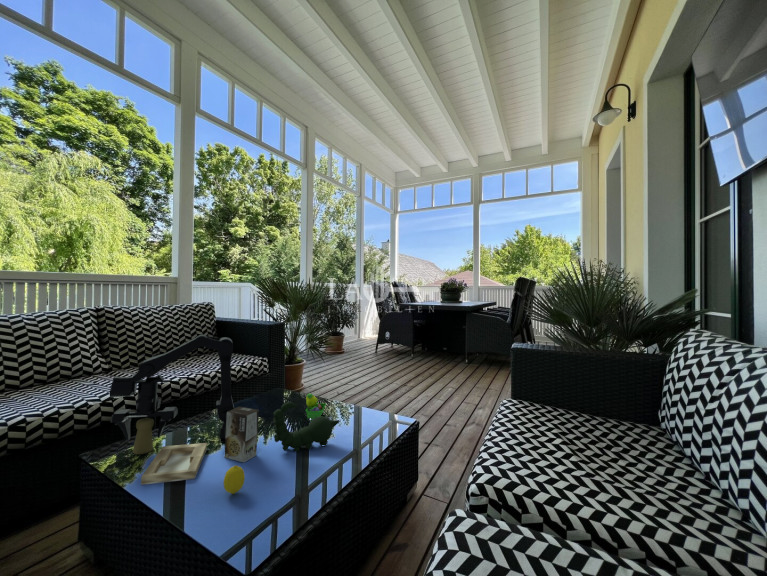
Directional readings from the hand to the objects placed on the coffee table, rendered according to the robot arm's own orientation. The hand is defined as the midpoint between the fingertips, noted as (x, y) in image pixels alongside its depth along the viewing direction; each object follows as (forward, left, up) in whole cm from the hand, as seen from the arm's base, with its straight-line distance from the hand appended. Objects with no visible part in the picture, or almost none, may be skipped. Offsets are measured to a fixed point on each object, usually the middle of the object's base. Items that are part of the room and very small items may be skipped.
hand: (143, 438), depth 116 cm
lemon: (-33, +35, -4) cm, 48 cm away
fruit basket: (-63, -21, -4) cm, 67 cm away
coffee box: (-33, +12, -4) cm, 35 cm away
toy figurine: (-56, +10, -4) cm, 57 cm away
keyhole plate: (-14, +14, -4) cm, 20 cm away
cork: (0, 0, -4) cm, 4 cm away
